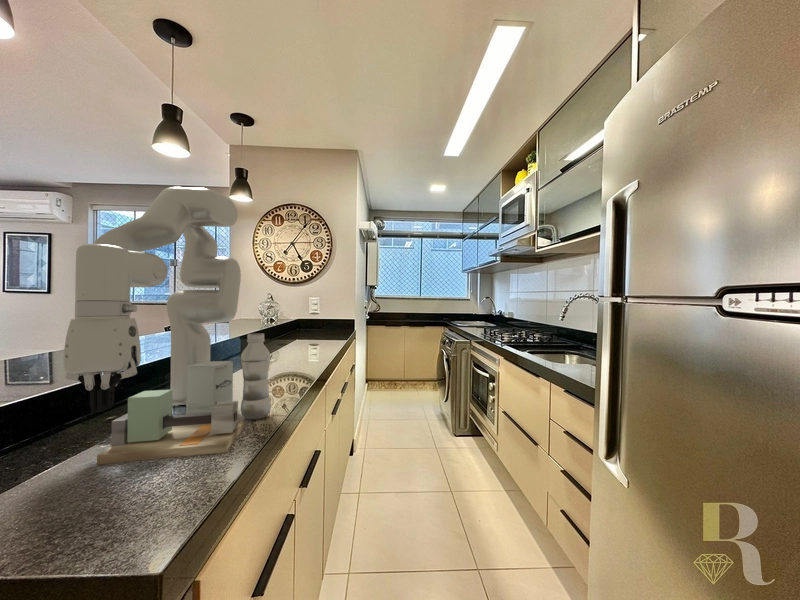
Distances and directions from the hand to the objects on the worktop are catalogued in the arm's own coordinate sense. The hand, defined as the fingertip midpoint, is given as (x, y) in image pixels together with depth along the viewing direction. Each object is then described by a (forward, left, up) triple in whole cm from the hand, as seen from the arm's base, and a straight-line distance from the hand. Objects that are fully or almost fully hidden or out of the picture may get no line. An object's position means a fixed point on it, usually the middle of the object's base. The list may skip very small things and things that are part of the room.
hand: (101, 409), depth 58 cm
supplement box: (-18, +12, -8) cm, 23 cm away
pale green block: (0, +8, -6) cm, 10 cm away
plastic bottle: (-12, +24, -8) cm, 28 cm away
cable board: (0, +13, -8) cm, 15 cm away
